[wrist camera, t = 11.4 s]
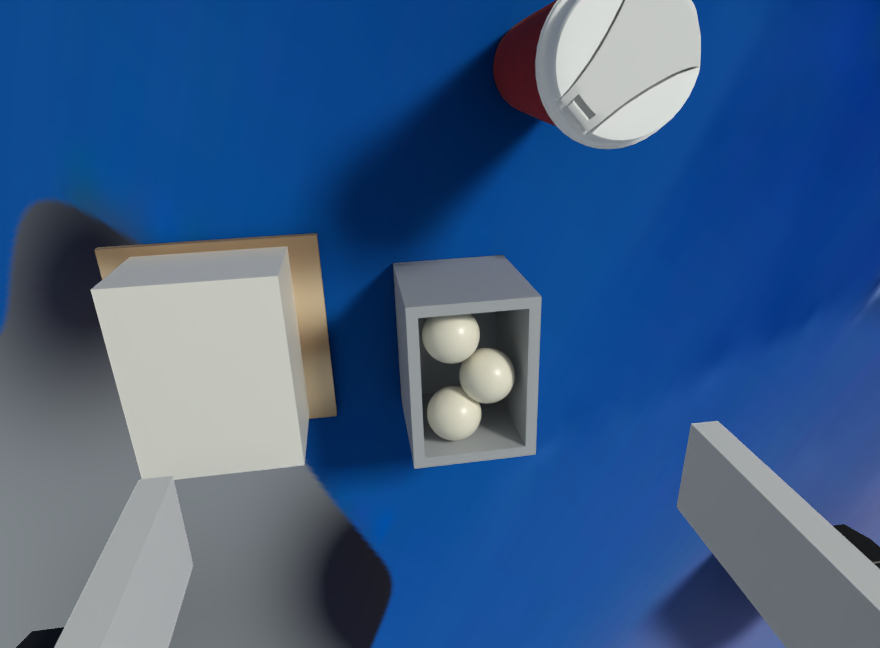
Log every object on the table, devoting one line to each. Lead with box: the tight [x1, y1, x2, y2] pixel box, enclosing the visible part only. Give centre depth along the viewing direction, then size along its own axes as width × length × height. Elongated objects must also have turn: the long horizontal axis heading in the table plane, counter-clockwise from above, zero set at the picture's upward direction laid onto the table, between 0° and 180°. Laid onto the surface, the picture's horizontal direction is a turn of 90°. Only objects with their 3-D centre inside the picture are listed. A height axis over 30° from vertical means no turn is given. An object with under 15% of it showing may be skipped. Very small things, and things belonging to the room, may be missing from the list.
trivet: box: [95, 233, 337, 419], centre depth 42 cm, size 14×14×1 cm
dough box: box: [393, 255, 541, 469], centre depth 41 cm, size 11×8×9 cm
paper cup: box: [493, 0, 701, 149], centre depth 32 cm, size 8×8×14 cm
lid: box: [91, 246, 309, 480], centre depth 39 cm, size 13×10×7 cm
